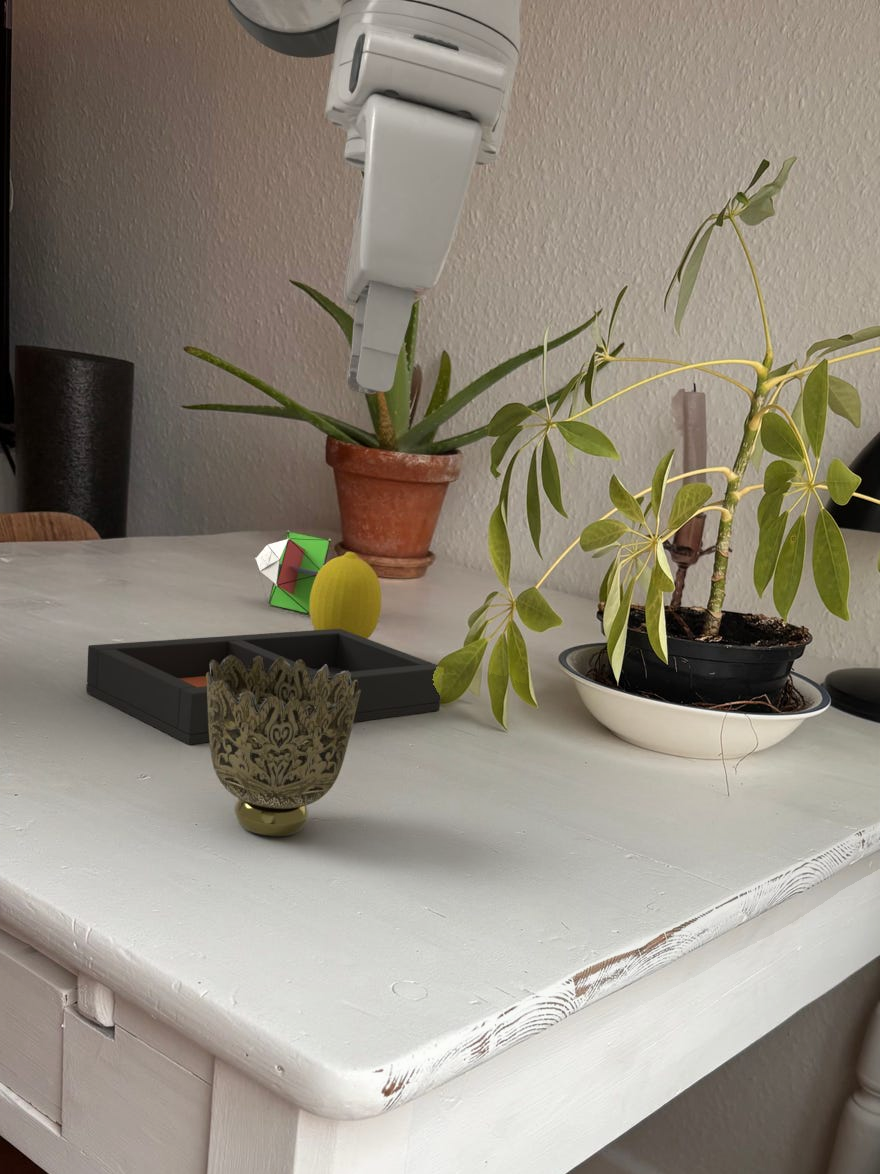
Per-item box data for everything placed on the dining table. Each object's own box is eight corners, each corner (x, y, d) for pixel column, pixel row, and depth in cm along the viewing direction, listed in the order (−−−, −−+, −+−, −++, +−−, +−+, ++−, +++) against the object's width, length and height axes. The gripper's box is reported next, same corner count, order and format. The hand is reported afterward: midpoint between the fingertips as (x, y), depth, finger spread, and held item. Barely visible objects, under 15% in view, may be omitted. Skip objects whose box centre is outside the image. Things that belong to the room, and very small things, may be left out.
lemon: (317, 661, 98) (328, 556, 95) (296, 643, 102) (306, 542, 99) (384, 664, 100) (397, 561, 97) (361, 646, 105) (373, 547, 102)
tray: (85, 692, 82) (87, 644, 81) (335, 668, 97) (339, 628, 96) (188, 745, 75) (192, 693, 74) (439, 710, 90) (445, 667, 89)
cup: (341, 863, 62) (360, 703, 59) (186, 846, 61) (198, 683, 58) (344, 810, 69) (361, 664, 66) (205, 794, 68) (216, 646, 65)
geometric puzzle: (293, 570, 120) (272, 503, 113) (359, 585, 118) (342, 517, 111) (257, 624, 116) (234, 558, 109) (325, 640, 114) (305, 574, 107)
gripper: (346, 127, 73) (304, 381, 77) (367, 25, 53) (310, 372, 57) (455, 156, 74) (408, 405, 78) (513, 67, 55) (447, 404, 59)
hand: (366, 391), depth 67 cm, fingers open, 8 cm apart
